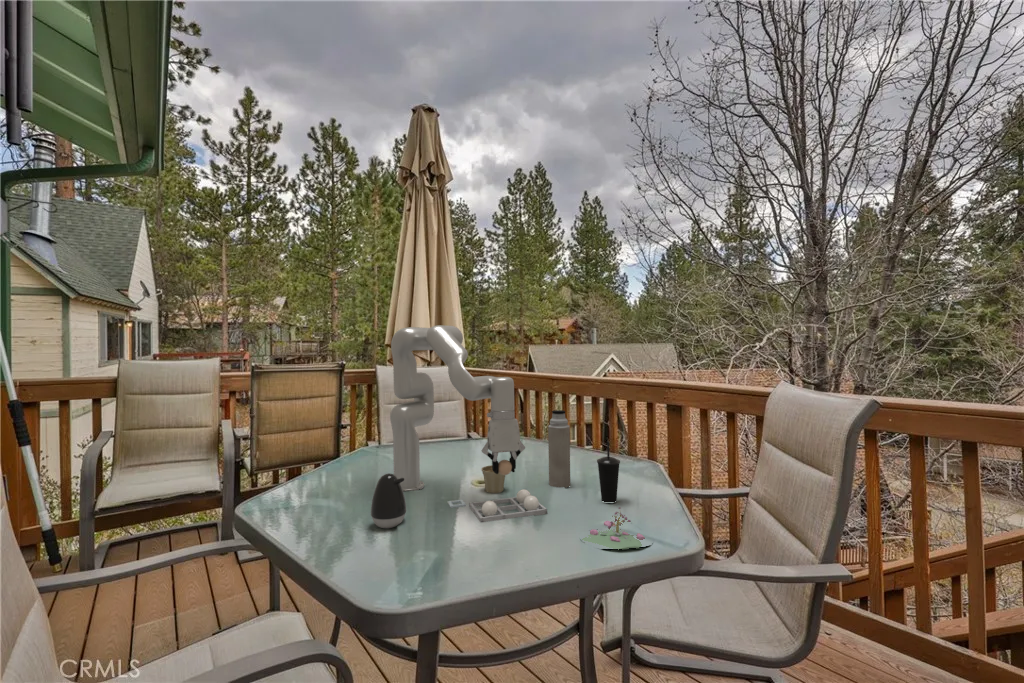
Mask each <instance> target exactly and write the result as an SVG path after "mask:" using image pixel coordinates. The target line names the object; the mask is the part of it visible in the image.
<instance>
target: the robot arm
mask: <svg viewBox="0 0 1024 683" xmlns="http://www.w3.org/2000/svg"><path fill="white" fill-rule="evenodd" d="M463 340H464V335H463V333H462V331H461V330H460V328H458V327H457V326H454V325H442V324H441V325H440V324H439V325H437V324H436V325H433V326H431V327H416V326H413V327H412V326H410V327H404V328H401V329H398V330H397V331H396V332H394V335H393V336H392V338H391V342H390V348H391V356H392V363H393V365H392V366H393V368H392V371H393V372H392V374H393V391H394V395H395V397H396V398H397V399H400V400H410V399H413V401H408V402H402V403H399V404H397V405H395V406H394V407H392V409H391V411H390V414H389V421H390V425H391V430H392V441H393V443H392V445H393V446H392V447H393V456H392V458H393V475H395V476H396V477H397V478H398V479H400V478H404V481H403V482H401V483H400V484H401V487H402V489H403V493H407V492H414V491H420V490H422V489H423V488H424V487H425V483H424V481H421V474H420V473H421V472H420V471H421V469H420V466H421V465H420V459H421V458H420V453H421V452H420V438H419V434H418V432H417V430H416V427H421V426H425V425H428V424H429V423H430V422H432V420H433V419H434V415H435V414H434V413H435V395H434V394H435V392H434V391H435V390H434V389H435V388H434V383H433V380H432V378H431V376H430V375H429V374H428V373H425V372H418V368H417V366H418V365H417V359H416V357H415V354H413V352H412V351H434V353H436V355H437V356H438V357H439V358H440V359H441V361H442V362H444V364H445V365H446V366H447V370H448V371H447V373H448V377H449V380H450V382H451V384H452V386H453V387H454V388H455V390H456V391H457V392H458V393H459V394H460V395H461V396H462V397H463V398H464V399H466V400H468V401H471V402H473V401H479V400H486V399H490V407H491V408H490V412H487V413H486V417H487V418H490V420H489V422H488V428H487V441H486V443H485V445H484V446H483V448H482V450H481V453H483V454H484V455H486V456H487V457H488V458H489V459H490V460H491V462H492V463H491V465H492V470H493V471H494V473H496V474H498V473H499V468H498V463H499V461H498V455H499V453H509V455H510V457H509V458H508V459H509V460H508V461H509V462H510V463H511V465H512V470H511V472H512V473H515V472H516V467H517V465H516V463H517V461H516V460H517V459H518V457H519V456H520V454H521V453H522V452H524V451H525V449H526V446H525V444H524V443H523V442H522V440H521V433H520V427H519V426H520V425H519V421H518V419H517V418H516V417H515V383H514V382H515V381H514V379H513V378H512V377H509V376H493V375H482V376H473V375H471V373H470V372H469V371H468V370H467V369H466V368H465V365H464V364H465V362H466V360H467V359H468V355H469V353H468V350H467V349H466V348H465V347H464V346H463V342H464V341H463ZM488 450H489V451H490V452H489V451H488ZM419 489H420V490H419Z"/></svg>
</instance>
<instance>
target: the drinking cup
mask: <svg viewBox="0 0 1024 683" xmlns="http://www.w3.org/2000/svg"><path fill="white" fill-rule="evenodd" d="M606 445H607V446H606V449H607V450H606V452H607V453H606V454H607V456H602V457H600V458H597V459H596V462H597V467H598V468H597V469H598V479H599V488H600V497H601V502H602V501H604V502H615V501H616V502H617V497H618V488H619V487H618V486H619V473H620V464H621V460H620V459H618V458H615V457H613V456H610V441H607V444H606Z"/></svg>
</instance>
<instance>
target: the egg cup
mask: <svg viewBox="0 0 1024 683" xmlns="http://www.w3.org/2000/svg"><path fill="white" fill-rule="evenodd" d="M447 504H448V506H449V508H450V509H452V508H453V509H454V508H461V507H466V506H467V504H466V502H465V501H464V500H463V499H456V500H449V501H448V500H447Z"/></svg>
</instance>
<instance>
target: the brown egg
mask: <svg viewBox="0 0 1024 683" xmlns="http://www.w3.org/2000/svg"><path fill="white" fill-rule="evenodd" d="M498 468H499V473H500V474H502V475H505V476H507V475H509V474H511V472H512V471H511V470H512V465H511V463H510V462H509V460H508V459H501V460H499V461H498Z"/></svg>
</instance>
